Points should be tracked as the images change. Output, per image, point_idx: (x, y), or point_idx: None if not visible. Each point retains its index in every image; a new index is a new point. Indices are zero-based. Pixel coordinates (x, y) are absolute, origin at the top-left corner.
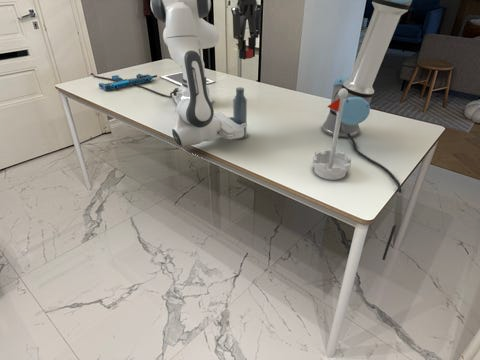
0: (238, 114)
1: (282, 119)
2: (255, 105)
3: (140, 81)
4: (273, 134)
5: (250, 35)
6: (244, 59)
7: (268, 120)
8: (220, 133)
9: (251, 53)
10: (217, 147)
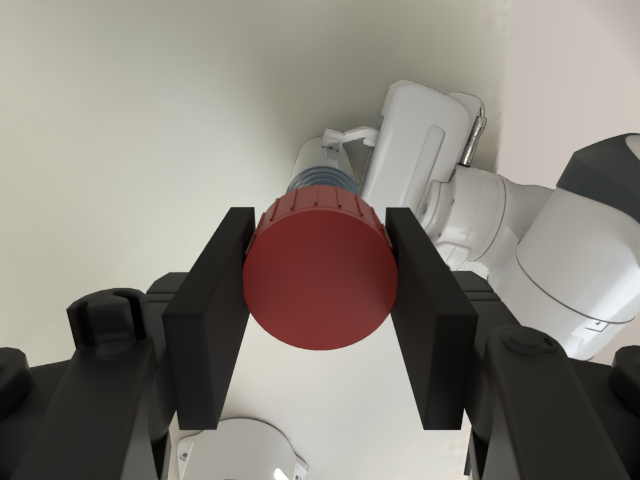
0: (351, 170)
1: (71, 141)
2: (67, 315)
3: None
4: (212, 68)
5: (168, 437)
6: (408, 208)
7: (128, 179)
8: (475, 147)
9: (318, 198)
10: None
